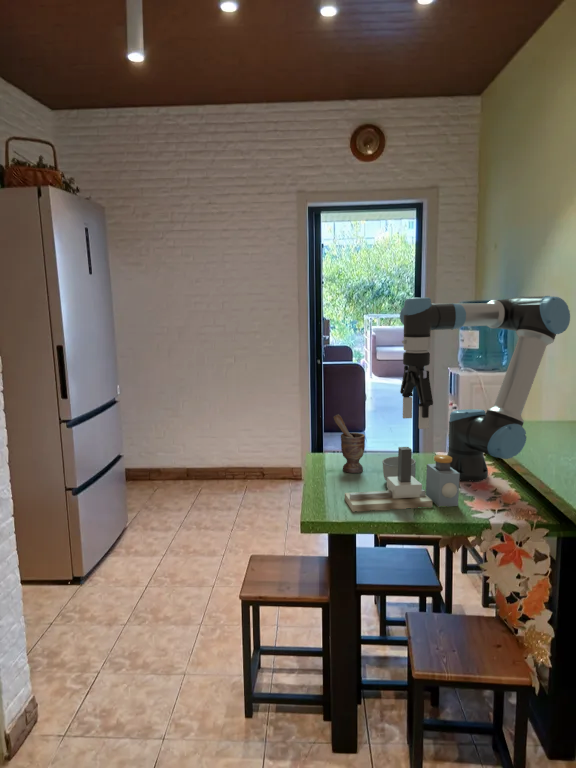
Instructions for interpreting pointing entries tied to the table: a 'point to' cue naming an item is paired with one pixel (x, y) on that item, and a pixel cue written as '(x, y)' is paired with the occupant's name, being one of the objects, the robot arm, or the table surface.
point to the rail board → (384, 501)
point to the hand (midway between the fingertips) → (415, 423)
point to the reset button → (443, 462)
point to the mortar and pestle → (351, 447)
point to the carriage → (404, 477)
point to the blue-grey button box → (442, 486)
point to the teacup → (395, 467)
